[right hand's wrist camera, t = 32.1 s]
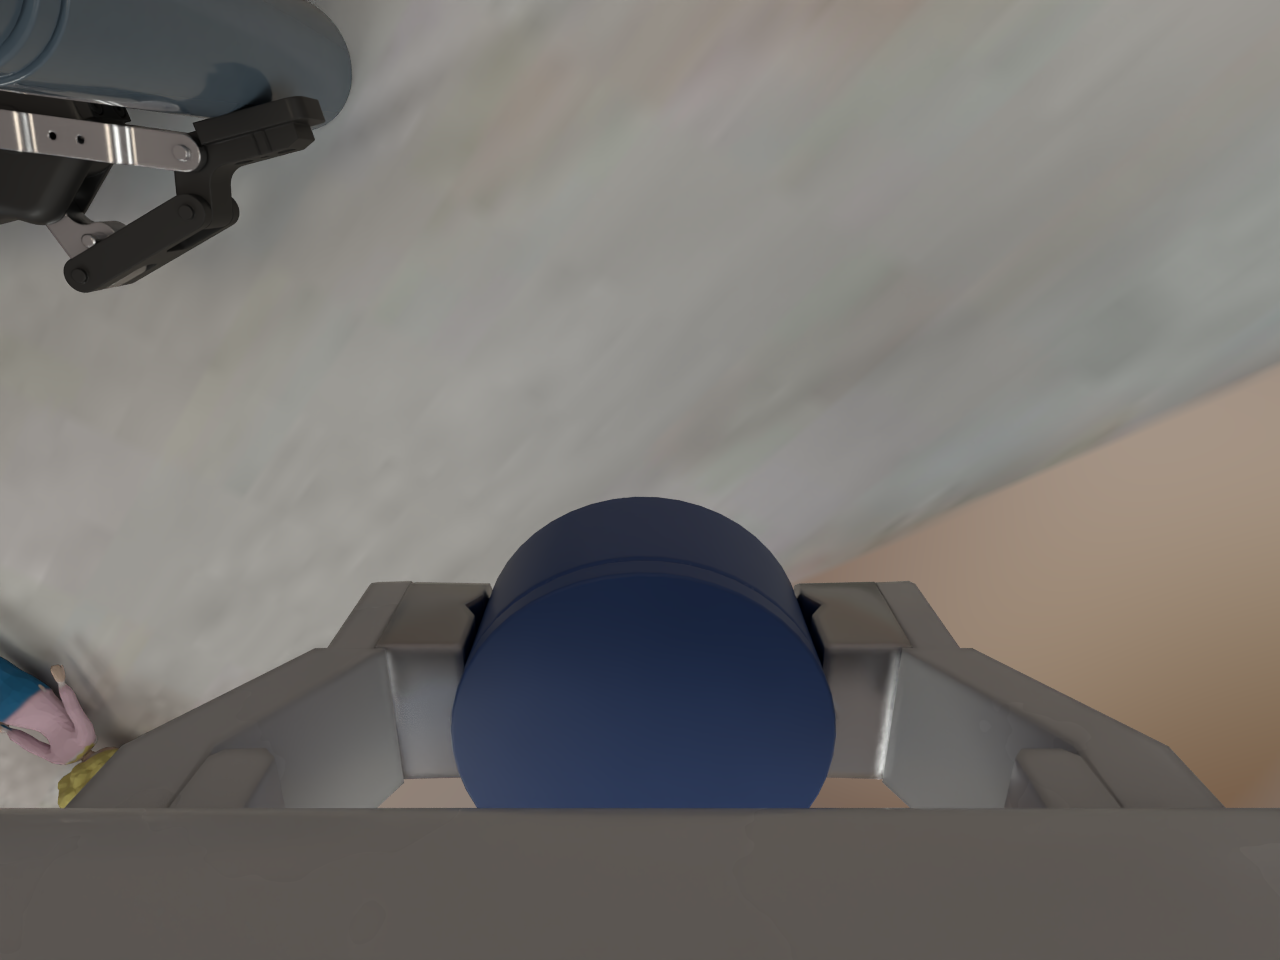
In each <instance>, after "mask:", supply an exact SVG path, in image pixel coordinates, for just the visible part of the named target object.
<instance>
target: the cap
mask: <svg viewBox="0 0 1280 960" xmlns="http://www.w3.org/2000/svg"><path fill="white" fill-rule="evenodd" d="M451 738H452V749H453V753H454V757H455V761H456V765H457V769H458V772H459V774H460V777H461V779H462V781H463V784H464V786H465V789H466V790H467V792H468V794H469V795H470V797H471V799H472V800H473V802H474V804H475V805H476V807H477V808H810V806H811V805H812V803H813V802H814V800H815V799H816V797H817V795H818V794H819V792H820V790H821V787H822V786H823V783H824V781H825V779H826V777H827V775H828V771H829V768H830V765H831V761H832V758H833V754H834V747H835V739H836V713H835V708H834V703H833V698H832V693H831V690H830V687H829V685H828V682H827V679H826V677H825V674H824V671H823V668H822V666H821V663H820V660H819V658H818V655H817V652H816V650H815V647H814V644H813V642H812V639H811V636H810V633H809V631H808V628H807V625H806V623H805V620H804V617H803V615H802V612H801V609H800V607H799V604H798V601H797V599H796V596H795V593H794V590H793V588H792V585H791V583H790V581H789V579H788V577H787V575H786V574H785V572H784V570H783V568H782V566H781V565H780V564H779V562H778V561H777V560H776V558H775V557H774V556H773V554H772V553H771V552H770V551H769V550H768V549H767V548H766V547H765V546H764V545H763V544H762V543H761V542H760V541H759V540H758V539H757V538H756V537H755V536H754V535H752V534H751V533H750V532H748V531H747V530H746V529H745V528H743V527H742V526H741V525H739V524H737V523H736V522H734V521H732V520H730V519H729V518H727V517H725V516H723V515H721V514H719V513H717V512H714V511H712V510H709V509H707V508H704V507H702V506H699V505H695V504H691V503H687V502H684V501H680V500H673V499H666V498H659V497H630V498H620V499H612V500H607V501H603V502H599V503H594V504H590V505H588V506H585V507H582V508H580V509H577V510H574V511H571V512H569V513H567V514H565V515H563V516H561V517H560V518H558V519H556V520H554V521H552V522H550V523H549V524H547V525H546V526H545V527H543V528H542V529H540V530H539V531H537V532H536V533H535V534H533V535H532V536H531V537H530V538H529V539H528V540H527V541H526V542H525V543H524V544H523V545H522V546H520V547H519V549H518V550H517V551H516V552H515V554H514V555H513V556H512V557H511V558H510V560H509V561H508V562H507V564H506V565H505V567H504V569H503V570H502V572H501V574H500V575H499V577H498V579H497V581H496V583H495V586H494V588H493V591H492V593H491V595H490V598H489V601H488V604H487V606H486V609H485V612H484V615H483V617H482V620H481V623H480V626H479V629H478V631H477V634H476V637H475V640H474V642H473V645H472V648H471V651H470V654H469V656H468V659H467V662H466V665H465V667H464V671H463V673H462V676H461V679H460V681H459V684H458V687H457V691H456V695H455V699H454V703H453V707H452V718H451Z"/></svg>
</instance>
